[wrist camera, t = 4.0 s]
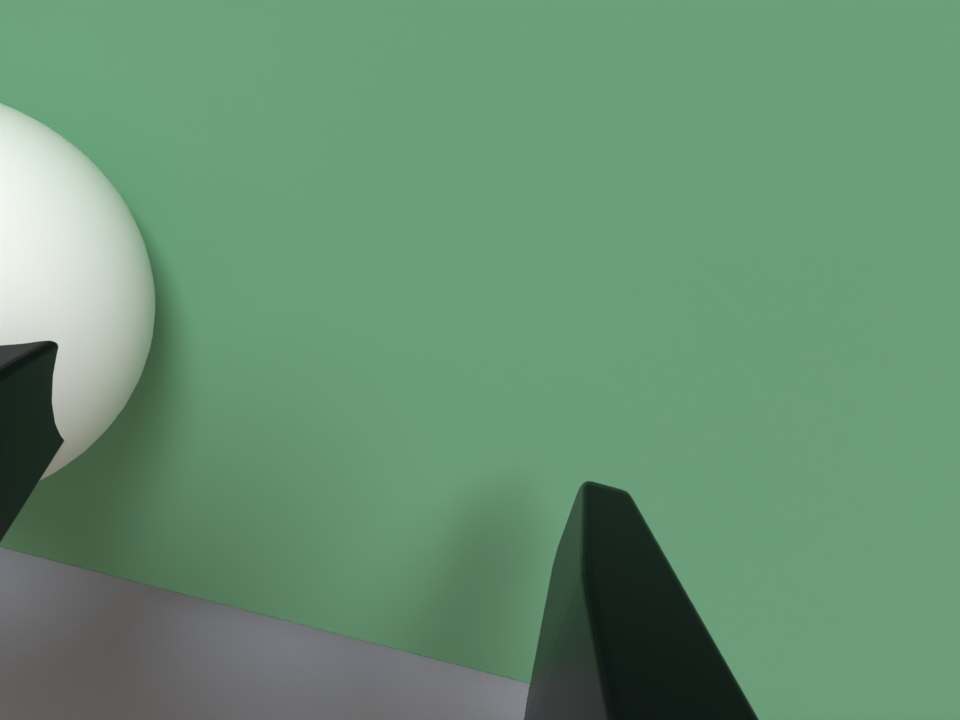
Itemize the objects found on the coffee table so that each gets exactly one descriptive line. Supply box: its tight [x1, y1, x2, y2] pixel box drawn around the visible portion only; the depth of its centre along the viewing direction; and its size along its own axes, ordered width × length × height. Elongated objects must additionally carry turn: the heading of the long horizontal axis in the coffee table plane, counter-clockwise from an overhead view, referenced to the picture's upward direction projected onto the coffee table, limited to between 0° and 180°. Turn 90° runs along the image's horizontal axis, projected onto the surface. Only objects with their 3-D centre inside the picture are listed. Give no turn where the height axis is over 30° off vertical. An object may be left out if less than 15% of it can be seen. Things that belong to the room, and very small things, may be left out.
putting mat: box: [0, 0, 960, 720], centre depth 10 cm, size 24×11×6 cm, turn 78°
